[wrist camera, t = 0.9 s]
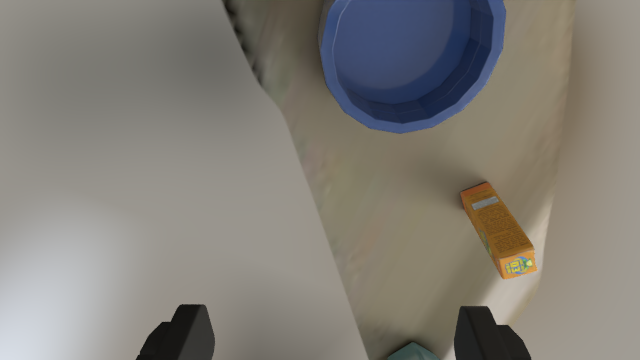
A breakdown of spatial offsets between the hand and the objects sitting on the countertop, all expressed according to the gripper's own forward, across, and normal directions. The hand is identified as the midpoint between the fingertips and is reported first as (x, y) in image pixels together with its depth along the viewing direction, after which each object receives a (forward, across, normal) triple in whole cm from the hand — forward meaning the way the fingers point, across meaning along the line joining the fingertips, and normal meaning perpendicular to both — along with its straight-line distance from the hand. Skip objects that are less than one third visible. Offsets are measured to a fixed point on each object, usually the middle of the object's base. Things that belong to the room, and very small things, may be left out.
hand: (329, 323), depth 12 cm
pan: (+25, -5, -5) cm, 26 cm away
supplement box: (+28, -15, +13) cm, 34 cm away
